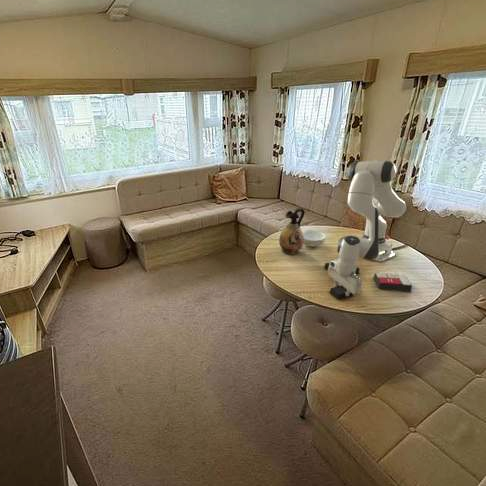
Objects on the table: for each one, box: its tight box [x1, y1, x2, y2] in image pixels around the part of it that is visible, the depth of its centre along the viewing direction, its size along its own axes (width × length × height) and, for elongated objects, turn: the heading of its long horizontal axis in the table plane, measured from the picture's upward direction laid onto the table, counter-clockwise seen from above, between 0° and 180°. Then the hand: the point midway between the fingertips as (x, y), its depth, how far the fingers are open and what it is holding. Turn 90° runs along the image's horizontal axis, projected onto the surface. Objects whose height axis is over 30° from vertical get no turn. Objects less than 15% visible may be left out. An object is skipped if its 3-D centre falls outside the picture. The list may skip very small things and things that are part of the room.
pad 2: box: [329, 284, 354, 300], centre depth 153 cm, size 13×6×3 cm, turn 108°
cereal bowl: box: [301, 229, 326, 248], centre depth 203 cm, size 17×17×7 cm
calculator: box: [373, 272, 413, 292], centre depth 159 cm, size 11×4×15 cm
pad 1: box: [324, 261, 360, 275], centre depth 173 cm, size 14×12×3 cm
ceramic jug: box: [278, 207, 305, 255], centre depth 190 cm, size 17×15×30 cm
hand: (341, 291), depth 152 cm, fingers closed on pad 2, 6 cm apart
